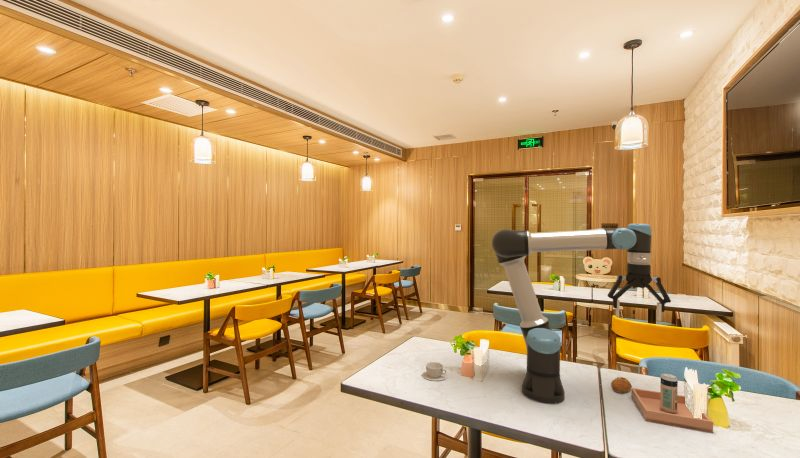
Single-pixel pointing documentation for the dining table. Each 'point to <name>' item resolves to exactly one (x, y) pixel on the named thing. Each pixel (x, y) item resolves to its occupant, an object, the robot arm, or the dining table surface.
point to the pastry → (621, 385)
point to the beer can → (668, 393)
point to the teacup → (434, 371)
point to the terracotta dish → (653, 413)
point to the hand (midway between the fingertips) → (637, 318)
